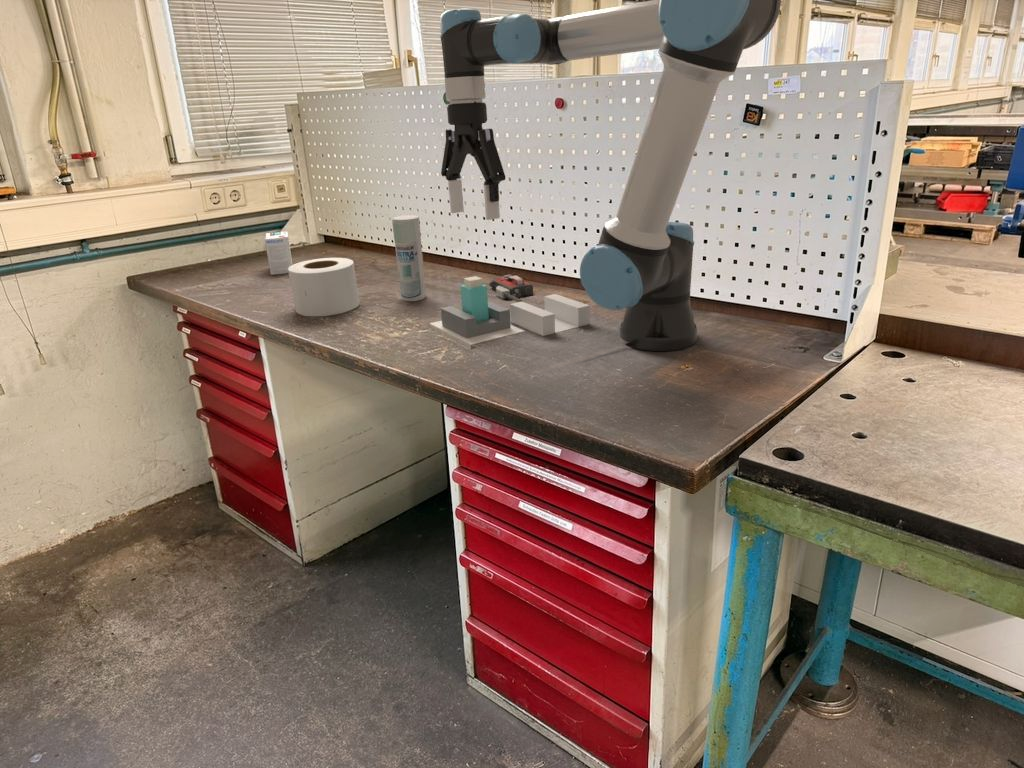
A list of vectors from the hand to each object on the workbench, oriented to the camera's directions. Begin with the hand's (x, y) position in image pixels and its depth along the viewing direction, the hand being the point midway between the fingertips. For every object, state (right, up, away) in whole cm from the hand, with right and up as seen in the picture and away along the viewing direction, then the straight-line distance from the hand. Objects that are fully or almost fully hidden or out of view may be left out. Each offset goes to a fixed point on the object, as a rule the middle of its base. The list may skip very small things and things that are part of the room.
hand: (474, 215), depth 139 cm
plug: (0, -22, +7) cm, 23 cm away
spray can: (-17, -12, +35) cm, 41 cm away
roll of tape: (-38, -15, +31) cm, 51 cm away
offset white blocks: (+16, -22, +8) cm, 28 cm away
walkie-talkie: (+8, -12, +34) cm, 37 cm away
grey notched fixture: (0, -23, +8) cm, 24 cm away
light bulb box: (-63, +1, +71) cm, 95 cm away
